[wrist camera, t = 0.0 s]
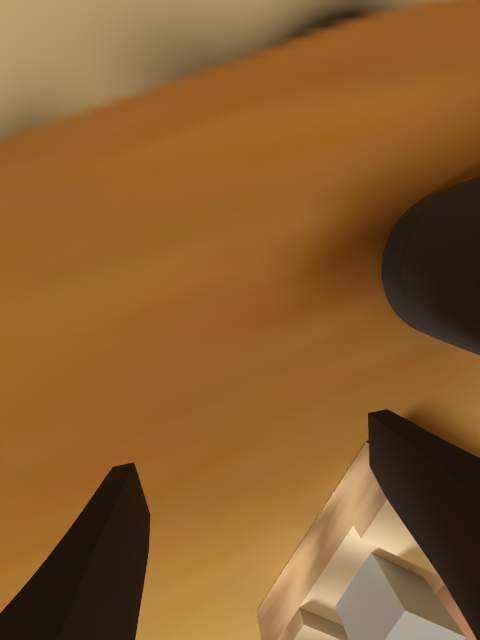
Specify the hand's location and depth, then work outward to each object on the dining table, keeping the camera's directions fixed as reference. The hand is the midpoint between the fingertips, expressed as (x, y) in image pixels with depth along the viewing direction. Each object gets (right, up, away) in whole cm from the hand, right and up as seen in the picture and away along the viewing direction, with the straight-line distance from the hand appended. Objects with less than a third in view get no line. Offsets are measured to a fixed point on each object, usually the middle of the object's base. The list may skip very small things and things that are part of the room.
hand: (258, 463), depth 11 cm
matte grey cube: (+8, -12, +10) cm, 18 cm away
